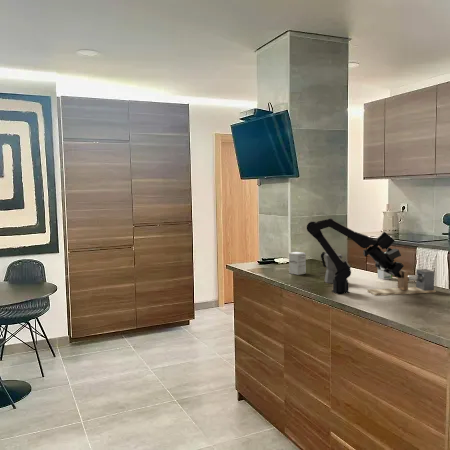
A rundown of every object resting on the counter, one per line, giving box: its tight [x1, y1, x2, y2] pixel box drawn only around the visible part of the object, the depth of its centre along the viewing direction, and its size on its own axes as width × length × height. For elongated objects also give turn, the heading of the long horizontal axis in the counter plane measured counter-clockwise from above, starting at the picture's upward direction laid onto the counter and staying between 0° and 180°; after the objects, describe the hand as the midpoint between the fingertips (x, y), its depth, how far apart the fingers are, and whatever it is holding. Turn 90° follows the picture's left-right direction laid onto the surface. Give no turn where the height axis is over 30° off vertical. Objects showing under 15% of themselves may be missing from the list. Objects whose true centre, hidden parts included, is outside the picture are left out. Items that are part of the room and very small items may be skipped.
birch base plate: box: [367, 286, 436, 296], centre depth 216 cm, size 30×8×1 cm, turn 97°
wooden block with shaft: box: [397, 268, 423, 290], centre depth 217 cm, size 12×6×9 cm, turn 97°
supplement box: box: [288, 251, 307, 276], centre depth 268 cm, size 7×7×13 cm
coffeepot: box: [320, 248, 343, 284], centre depth 243 cm, size 15×9×18 cm, turn 33°
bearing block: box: [415, 268, 435, 291], centre depth 217 cm, size 5×7×9 cm
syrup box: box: [377, 251, 393, 280], centre depth 248 cm, size 6×6×14 cm
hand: (400, 277), depth 216 cm, fingers closed, pressing on wooden block with shaft
